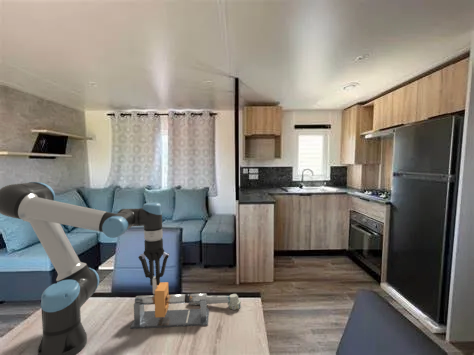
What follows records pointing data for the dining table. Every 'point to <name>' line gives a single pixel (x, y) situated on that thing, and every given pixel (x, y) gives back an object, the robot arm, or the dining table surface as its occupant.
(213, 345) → the dining table surface
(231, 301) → the white blue-tipped device
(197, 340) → the dining table surface
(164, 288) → the collar
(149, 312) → the pipe rig
